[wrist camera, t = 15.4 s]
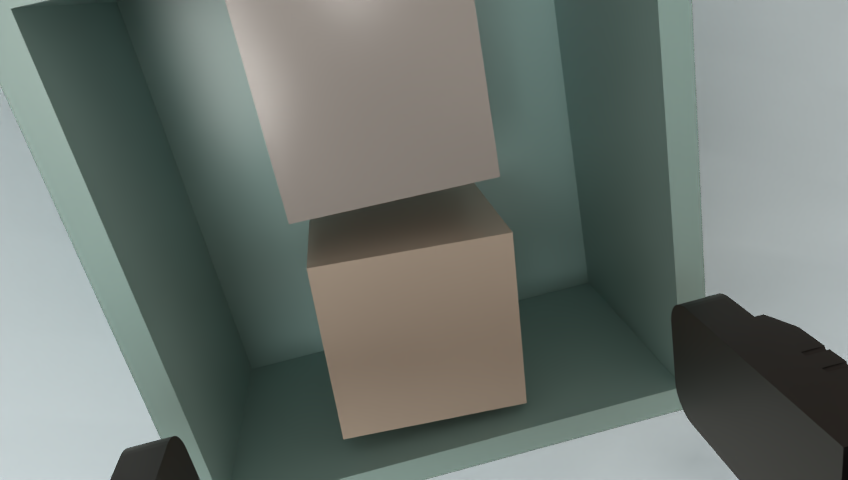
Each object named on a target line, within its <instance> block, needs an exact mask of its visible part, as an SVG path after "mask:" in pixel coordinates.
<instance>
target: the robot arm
mask: <svg viewBox="0 0 848 480" xmlns="http://www.w3.org/2000/svg"><path fill="white" fill-rule="evenodd" d="M671 327H672V341H673V356H674V371H675V384H676V390H677V394H678V398H679V401H680V403H681V406H682V408H683V410H684V412H685V414H686V416H687V418H688V419H689V421H690V422H691V423H692V425H693V426H694V427H695V428H696V429H697V430H698V432H699V433H700V434H701V435H702V436H703V438H704V439H705V440H706V441H707V442H708V443H709V445H710V446H711V447H712V448H713V449H714V451H715V452H716V453H717V454H718V455H719V456H720V458H721V459H722V460H723V461H724V462H725V464H726V465H727V466H728V467H729V468H730V469H731V471H732V472H733V473H734V474H735V475H736V476H737V478H738V479H739V480H848V365H847V363H846V361H845V360H844V359H842V358H841V357H839V356H838V355H837V354H835V353H834V352H832V351H831V350H830V349H829V350H826V349H825V347H824V345H823V344H821V343H820V342H818V341H817V340H816V339H814V338H813V337H811V336H810V335H809V334H807V333H806V332H804V331H803V330H802V329H800V328H799V327H797V326H794V325H791V324H788V323H786V322H783V321H780V320H777V319H775V318H772V317H769V316H766V315H760V316H756V317H754V316H753V315H751V314H750V313H749V312H747V311H746V310H745V309H743V308H742V307H741V306H740V305H738V304H737V303H736V302H734V301H733V300H732V299H730V298H729V297H728V296H726V295H724V294H716V295H712V296H708V297H704V298H701V299H697V300H693V301H689V302H685V303H682V304H678V305H675V306H674V307H673V309H672V312H671ZM110 480H200V478H199V476H198V474H197V471H196V469H195V467H194V465H193V462H192V460H191V458H190V456H189V453H188V451H187V449H186V447H185V445H184V443H183V441H182V440H181V439H180V438H179V437H177V436H172V437H168V438H164V439H160V440H157V441H153V442H149V443H145V444H142V445H138V446H134V447H130V448H127V449H125V450H124V451H123V452H122V454H121V456H120V458H119V461H118V463H117V465H116V468H115V470H114V472H113V475H112V477H111V479H110Z"/></svg>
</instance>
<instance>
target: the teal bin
mask: <svg viewBox="0 0 848 480" xmlns="http://www.w3.org/2000/svg"><path fill="white" fill-rule="evenodd" d="M474 2H475V9H476V15H477V22H478V29H479V36H480V42H481V49H482V56H483V63H484V70H485V76H486V83H487V90H488V97H489V104H490V110H491V117H492V124H493V131H494V137H495V144H496V151H497V158H498V165H499V171H500V177H497V178H493V179H488V180H484V181H479V182H475V184H476V186H477V187H478V188H479V190H480V191H481V192H482V194H483V195H484V196H485V197H486V199H487V200H488V201H489V203H490V204H491V205H492V206H493V208H494V209H495V210H496V212H497V213H498V214H499V215H500V217H501V218H502V219H503V221H504V222H505V223H506V224H507V226H508V227H509V228H510V230H511V231H512V232H513V242H514V254H515V266H516V278H517V290H518V302H519V314H520V326H521V339H522V351H523V363H524V375H525V387H526V399H527V403H525V404H520V405H515V406H510V407H505V408H500V409H495V410H489V411H484V412H479V413H474V414H469V415H464V416H459V417H454V418H449V419H444V420H439V421H434V422H429V423H424V424H419V425H414V426H409V427H404V428H399V429H394V430H389V431H384V432H379V433H374V434H369V435H364V436H359V437H354V438H349V439H343V435H342V431H341V426H340V421H339V417H338V412H337V407H336V403H335V398H334V394H333V389H332V384H331V380H330V375H329V370H328V366H327V361H326V356H325V352H324V347H323V343H322V338H321V333H320V329H319V324H318V319H317V315H316V310H315V306H314V301H313V296H312V292H311V287H310V282H309V278H308V273H307V252H308V236H309V220H306V221H301V222H297V223H293V224H289V223H288V219H287V216H286V212H285V209H284V205H283V202H282V198H281V195H280V191H279V188H278V184H277V181H276V177H275V174H274V170H273V167H272V163H271V160H270V156H269V153H268V149H267V146H266V142H265V139H264V135H263V132H262V128H261V125H260V121H259V118H258V114H257V111H256V107H255V104H254V100H253V97H252V93H251V90H250V86H249V83H248V79H247V76H246V72H245V69H244V65H243V62H242V58H241V55H240V51H239V48H238V44H237V41H236V37H235V34H234V30H233V27H232V23H231V20H230V16H229V13H228V9H227V6H226V2H225V0H0V85H1V88H2V90H3V92H4V94H5V96H6V99H7V101H8V103H9V105H10V107H11V110H12V112H13V114H14V116H15V118H16V121H17V123H18V125H19V127H20V129H21V132H22V134H23V136H24V138H25V140H26V143H27V145H28V147H29V149H30V151H31V154H32V156H33V158H34V160H35V163H36V165H37V167H38V169H39V171H40V174H41V176H42V178H43V180H44V182H45V185H46V187H47V189H48V191H49V193H50V196H51V198H52V200H53V202H54V204H55V207H56V209H57V211H58V213H59V215H60V218H61V220H62V222H63V224H64V226H65V229H66V231H67V233H68V235H69V237H70V240H71V242H72V244H73V246H74V248H75V251H76V253H77V255H78V257H79V259H80V262H81V264H82V266H83V268H84V270H85V273H86V275H87V277H88V279H89V282H90V284H91V286H92V288H93V290H94V293H95V295H96V297H97V299H98V301H99V304H100V306H101V308H102V310H103V312H104V315H105V317H106V319H107V321H108V323H109V326H110V328H111V330H112V332H113V334H114V337H115V339H116V341H117V343H118V345H119V348H120V350H121V352H122V354H123V356H124V359H125V361H126V363H127V365H128V367H129V370H130V372H131V374H132V376H133V378H134V381H135V383H136V385H137V387H138V390H139V392H140V394H141V396H142V398H143V401H144V403H145V405H146V407H147V409H148V412H149V414H150V416H151V418H152V420H153V423H154V425H155V427H156V429H157V431H158V434H159V436H160V438H161V439H164V438H168V437H172V436H177V437H179V438H180V439H181V440H182V441H183V443H184V445H185V447H186V449H187V451H188V453H189V456H190V458H191V460H192V462H193V465H194V467H195V469H196V471H197V474H198V476H199V478H200V480H425V479H429V478H432V477H436V476H440V475H443V474H447V473H451V472H455V471H458V470H462V469H466V468H469V467H473V466H477V465H480V464H484V463H488V462H491V461H495V460H499V459H502V458H506V457H510V456H513V455H517V454H521V453H525V452H528V451H532V450H536V449H539V448H543V447H547V446H550V445H554V444H558V443H561V442H565V441H569V440H572V439H576V438H580V437H584V436H587V435H591V434H595V433H598V432H602V431H606V430H609V429H613V428H617V427H620V426H624V425H628V424H631V423H635V422H639V421H642V420H646V419H650V418H654V417H657V416H661V415H665V414H668V413H672V412H676V411H679V410H683V408H682V406H681V403H680V401H679V398H678V394H677V390H676V384H675V371H674V356H673V341H672V327H671V312H672V309H673V307H674V306H675V305H678V304H682V303H685V302H689V301H693V300H697V299H701V298H704V297H705V281H704V259H703V237H702V215H701V193H700V172H699V150H698V128H697V106H696V84H695V63H694V41H693V19H692V0H474Z"/></svg>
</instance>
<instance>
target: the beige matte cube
mask: <svg viewBox="0 0 848 480" xmlns="http://www.w3.org/2000/svg"><path fill="white" fill-rule="evenodd" d="M307 273H308V278H309V282H310V287H311V292H312V296H313V301H314V306H315V310H316V315H317V319H318V324H319V329H320V333H321V338H322V343H323V347H324V352H325V356H326V361H327V366H328V370H329V375H330V380H331V384H332V389H333V394H334V398H335V403H336V407H337V412H338V417H339V421H340V426H341V431H342V435H343V439H349V438H354V437H359V436H364V435H369V434H374V433H379V432H384V431H389V430H394V429H399V428H404V427H409V426H414V425H419V424H424V423H429V422H434V421H439V420H444V419H449V418H454V417H459V416H464V415H469V414H474V413H479V412H484V411H489V410H495V409H500V408H505V407H510V406H515V405H520V404H525V403H527V399H526V387H525V375H524V363H523V351H522V339H521V326H520V314H519V302H518V290H517V278H516V266H515V254H514V242H513V232H512V231H511V230H510V228H509V227H508V226H507V224H506V223H505V222H504V221H503V219H502V218H501V217H500V215H499V214H498V213H497V212H496V210H495V209H494V208H493V206H492V205H491V204H490V203H489V201H488V200H487V199H486V197H485V196H484V195H483V194H482V192H481V191H480V190H479V188H478V187H477V186H476V184H475V183H470V184H466V185H461V186H457V187H453V188H448V189H444V190H439V191H435V192H430V193H426V194H421V195H417V196H413V197H408V198H404V199H399V200H395V201H390V202H386V203H381V204H377V205H373V206H368V207H364V208H359V209H355V210H350V211H346V212H341V213H337V214H333V215H328V216H324V217H319V218H315V219H310V220H309V236H308V252H307Z"/></svg>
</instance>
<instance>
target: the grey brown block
mask: <svg viewBox="0 0 848 480" xmlns="http://www.w3.org/2000/svg"><path fill="white" fill-rule="evenodd" d="M225 2H226V6H227V9H228V13H229V16H230V20H231V23H232V27H233V30H234V34H235V37H236V41H237V44H238V48H239V51H240V55H241V58H242V62H243V65H244V69H245V72H246V76H247V79H248V83H249V86H250V90H251V93H252V97H253V100H254V104H255V107H256V111H257V114H258V118H259V121H260V125H261V128H262V132H263V135H264V139H265V142H266V146H267V149H268V153H269V156H270V160H271V163H272V167H273V170H274V174H275V177H276V181H277V184H278V188H279V191H280V195H281V198H282V202H283V205H284V209H285V212H286V216H287V219H288V223H289V224H293V223H297V222H301V221H306V220H310V219H315V218H319V217H324V216H328V215H333V214H337V213H341V212H346V211H350V210H355V209H359V208H364V207H368V206H373V205H377V204H381V203H386V202H390V201H395V200H399V199H404V198H408V197H413V196H417V195H421V194H426V193H430V192H435V191H439V190H444V189H448V188H453V187H457V186H461V185H466V184H470V183H475V182H479V181H484V180H488V179H493V178H497V177H500V171H499V165H498V158H497V151H496V144H495V137H494V131H493V124H492V117H491V110H490V104H489V97H488V90H487V83H486V76H485V70H484V63H483V56H482V49H481V42H480V36H479V29H478V22H477V15H476V9H475V2H474V0H225Z"/></svg>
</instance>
